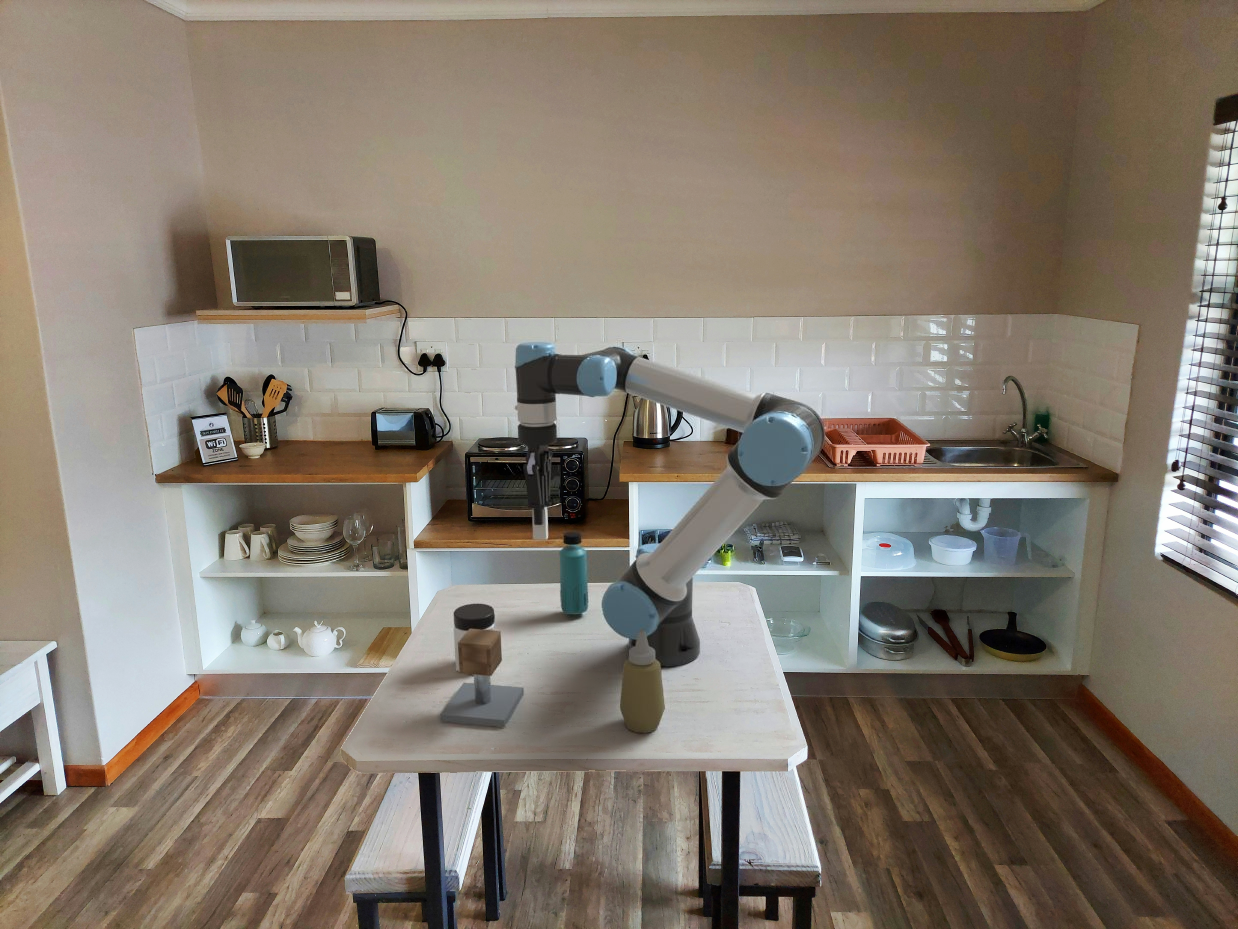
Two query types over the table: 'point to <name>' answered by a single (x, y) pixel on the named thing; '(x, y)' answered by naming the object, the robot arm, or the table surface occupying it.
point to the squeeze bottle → (642, 688)
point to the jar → (471, 622)
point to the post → (482, 689)
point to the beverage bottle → (573, 575)
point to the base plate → (482, 706)
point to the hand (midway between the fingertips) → (540, 538)
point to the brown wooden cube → (480, 652)
